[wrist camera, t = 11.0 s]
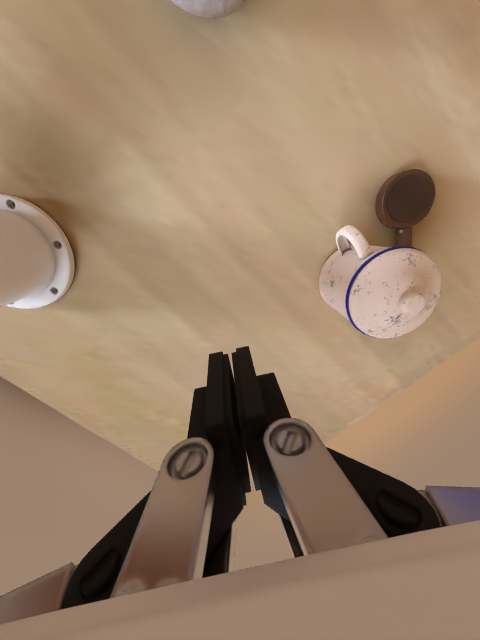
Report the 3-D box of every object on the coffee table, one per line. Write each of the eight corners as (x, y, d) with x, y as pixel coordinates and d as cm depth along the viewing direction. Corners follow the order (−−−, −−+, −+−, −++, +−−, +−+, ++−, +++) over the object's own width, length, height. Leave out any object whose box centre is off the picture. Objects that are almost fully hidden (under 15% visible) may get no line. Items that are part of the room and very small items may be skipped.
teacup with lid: (395, 287, 32) (481, 317, 21) (334, 323, 34) (386, 369, 23) (359, 204, 28) (442, 188, 17) (292, 249, 30) (330, 261, 19)
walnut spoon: (417, 327, 35) (426, 332, 33) (376, 336, 35) (382, 341, 33) (427, 166, 27) (439, 162, 26) (374, 178, 27) (383, 175, 26)
